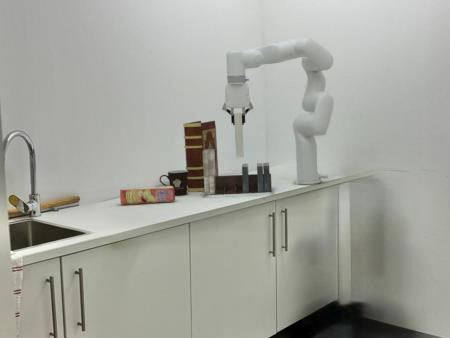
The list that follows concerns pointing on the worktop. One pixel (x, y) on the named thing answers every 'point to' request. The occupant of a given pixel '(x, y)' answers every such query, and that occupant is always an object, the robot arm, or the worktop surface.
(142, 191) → the snack package
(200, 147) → the decorative book
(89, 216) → the worktop surface
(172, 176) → the coffee mug
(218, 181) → the book rack
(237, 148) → the ivory book
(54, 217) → the worktop surface
